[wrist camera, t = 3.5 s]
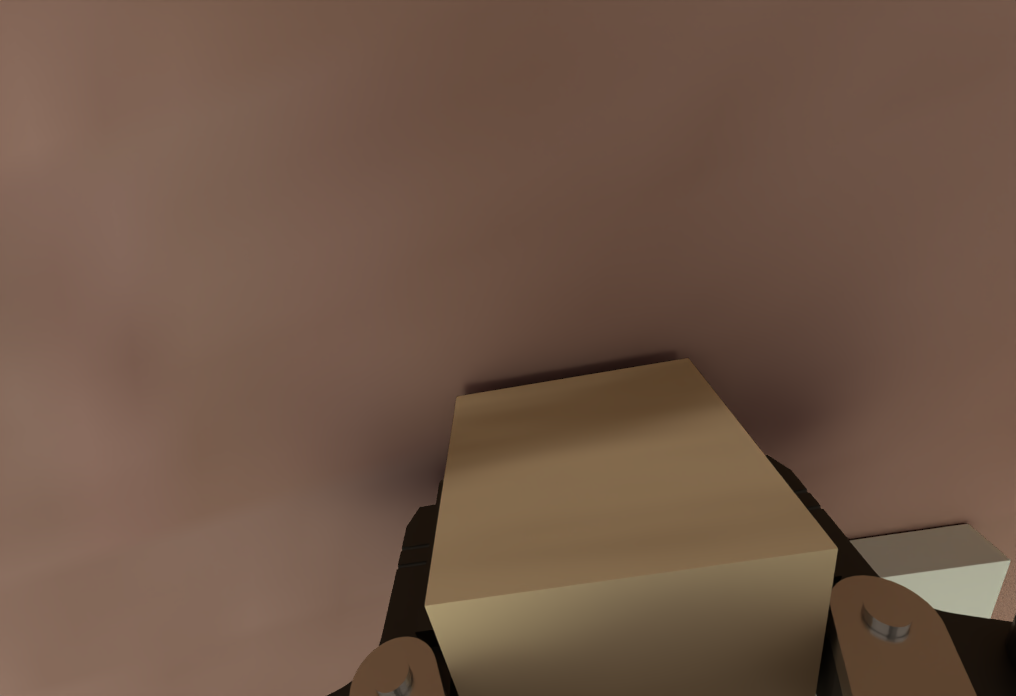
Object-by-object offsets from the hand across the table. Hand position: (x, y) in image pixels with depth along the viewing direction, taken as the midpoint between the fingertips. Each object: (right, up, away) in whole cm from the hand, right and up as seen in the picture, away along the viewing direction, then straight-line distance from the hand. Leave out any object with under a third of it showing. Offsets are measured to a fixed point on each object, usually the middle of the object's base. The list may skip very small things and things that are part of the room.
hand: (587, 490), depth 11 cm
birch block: (0, 0, +1) cm, 1 cm away
